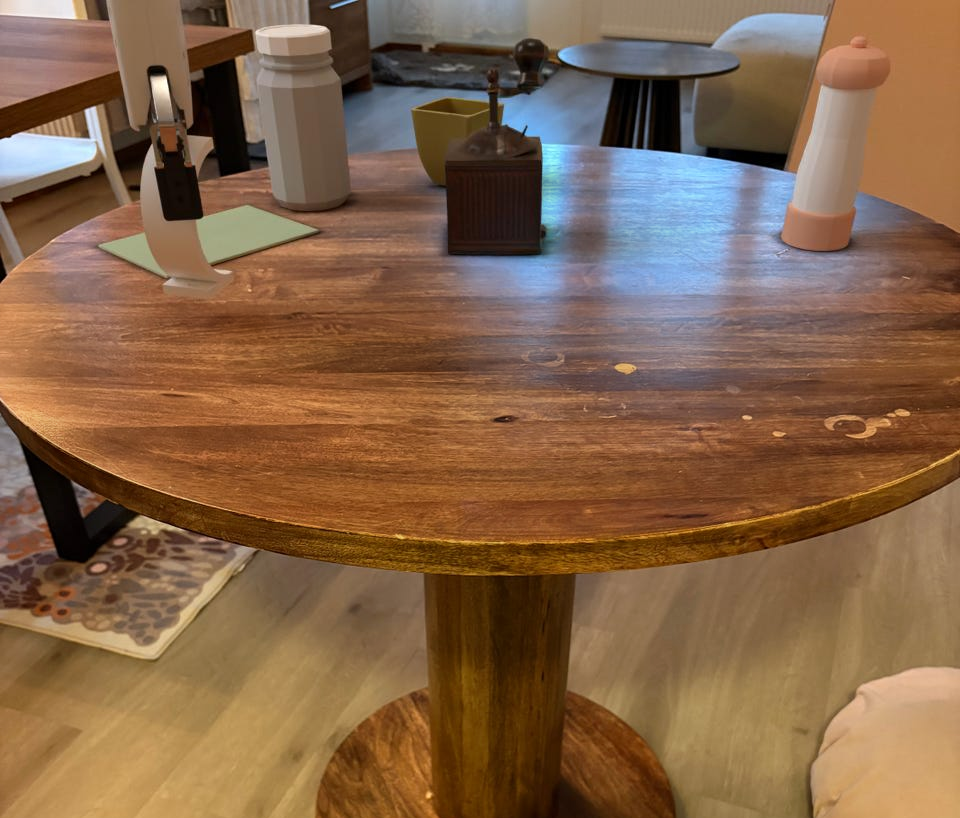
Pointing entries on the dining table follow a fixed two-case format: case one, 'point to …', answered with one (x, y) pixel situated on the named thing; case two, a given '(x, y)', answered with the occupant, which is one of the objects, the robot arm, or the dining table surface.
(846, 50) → the salt shaker
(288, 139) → the jar
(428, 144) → the flower pot
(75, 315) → the dining table surface
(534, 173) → the brown manual coffee grinder
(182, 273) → the headphone stand
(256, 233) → the placemat
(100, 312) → the dining table surface
